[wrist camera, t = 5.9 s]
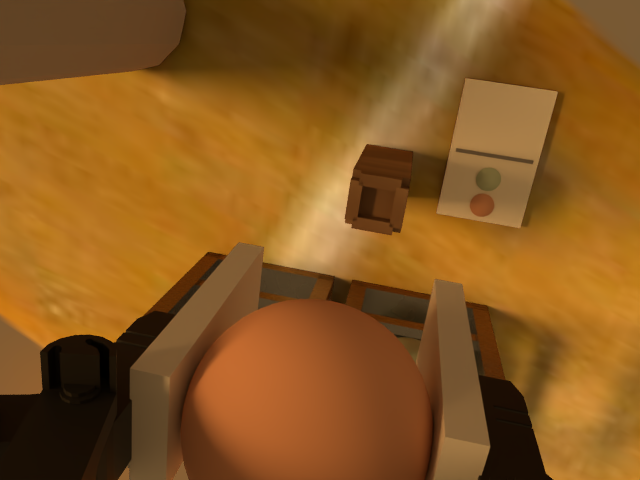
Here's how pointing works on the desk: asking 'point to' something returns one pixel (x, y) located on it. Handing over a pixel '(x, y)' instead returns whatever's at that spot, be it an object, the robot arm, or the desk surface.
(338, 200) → the desk surface
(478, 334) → the dark open frame crate
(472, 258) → the desk surface
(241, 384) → the ball terracotta
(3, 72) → the water bottle
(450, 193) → the card
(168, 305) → the wireframe cube
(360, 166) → the peg stand
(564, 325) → the desk surface
